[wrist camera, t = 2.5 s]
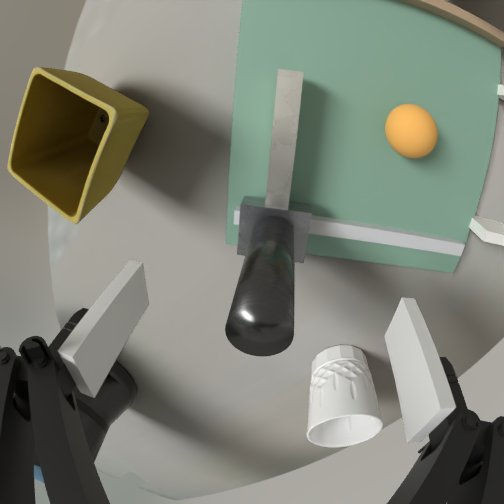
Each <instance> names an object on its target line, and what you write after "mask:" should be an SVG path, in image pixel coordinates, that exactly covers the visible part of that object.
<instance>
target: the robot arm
mask: <svg viewBox="0 0 504 504" xmlns="http://www.w3.org/2000/svg"><path fill="white" fill-rule="evenodd" d="M148 306H149V300H148V294H147V288H146V281H145V274H144V267H143V262H137V261H131V260H130V261H129V262H128V263H127V264H126V266H125V267H124V268H123V269H122V270H121V271H120V273H119V274H118V275H117V276H116V277H115V278H114V280H113V281H112V282H111V283H110V284H109V286H108V287H107V288H106V289H105V290H104V292H103V293H102V294H101V295H100V297H99V298H98V299H97V300H96V301H95V303H94V304H93V305H92V306H91V308H90V309H85V308H82V309H81V310H79V311H78V312H76V313H75V314H74V315H73V316H72V317H71V319H70V320H69V321H68V323H67V324H66V325H65V326H64V329H62V330H61V331H60V333H59V334H58V335H57V336H56V338H55V339H54V340H53V342H52V343H51V344H50V346H49V347H48V346H47V344H46V342H45V340H44V339H43V338H42V337H39V336H32V337H30V338H27V339H26V340H25V341H23V342H22V344H21V345H20V348H19V352H20V354H21V356H17V355H16V353H15V352H14V350H13V349H12V348H9V347H4V348H2V347H1V346H0V504H35V489H34V478H35V479H37V480H39V481H41V482H43V483H45V487H46V490H47V494H48V497H49V500H50V504H110V503H109V500H108V498H107V496H106V493H105V491H104V488H103V486H102V483H101V481H100V478H99V476H98V473H97V470H96V467H95V465H94V462H95V459H96V457H97V454H98V452H99V450H100V447H101V445H102V443H103V440H104V438H105V436H106V433H107V431H108V429H109V427H110V425H111V424H112V423H113V422H114V421H115V420H116V419H117V418H118V417H119V416H120V415H121V414H122V413H123V412H124V411H125V410H126V409H127V408H128V407H129V406H130V405H131V404H132V402H133V400H134V398H135V396H136V393H137V388H136V384H135V382H134V381H133V379H132V377H131V376H130V375H129V374H128V372H127V371H126V370H125V369H124V368H123V367H122V366H121V365H120V364H118V363H117V362H116V359H117V357H118V355H119V354H120V352H121V350H122V349H123V347H124V345H125V343H126V342H127V340H128V338H129V337H130V335H131V333H132V332H133V330H134V328H135V327H136V325H137V323H138V322H139V320H140V318H141V317H142V315H143V314H144V312H145V310H146V309H147V307H148ZM384 338H385V341H386V345H387V349H388V353H389V357H390V361H391V365H392V370H393V374H394V378H395V383H396V388H397V392H398V397H399V402H400V407H401V412H402V418H403V423H404V429H405V435H406V441H407V443H411V442H420V441H422V440H424V439H425V438H426V437H427V436H428V435H429V439H430V441H429V442H428V443H427V444H426V445H425V446H424V447H422V449H420V450H419V451H418V453H421V452H422V453H421V455H420V456H419V458H418V460H417V462H416V463H415V464H414V466H413V468H412V469H411V471H410V472H409V474H408V475H407V477H406V478H405V480H404V481H403V483H402V484H401V485H400V487H399V488H398V490H397V491H396V492H395V494H394V495H393V496H392V498H391V499H390V500H389V502H388V503H387V504H446V503H447V504H504V417H502V416H500V417H498V418H497V419H496V420H495V421H494V422H492V423H491V422H486V421H481V420H480V419H479V417H478V416H477V414H476V413H474V412H473V411H471V410H468V409H467V406H466V403H465V400H464V397H463V394H462V391H461V388H460V385H459V383H458V380H457V377H456V376H455V372H454V369H453V366H452V365H451V363H450V362H449V361H448V360H447V358H446V357H439V355H438V353H437V350H436V348H435V345H434V343H433V340H432V338H431V335H430V333H429V330H428V328H427V326H426V323H425V321H424V319H423V316H422V314H421V312H420V309H419V307H418V305H417V303H416V301H415V299H414V298H404V297H402V298H401V301H400V303H399V305H398V308H397V310H396V312H395V314H394V317H393V319H392V321H391V323H390V325H389V327H388V330H387V332H386V334H385V336H384Z"/></svg>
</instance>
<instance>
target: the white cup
mask: <svg viewBox="0 0 504 504" xmlns="http://www.w3.org/2000/svg"><path fill="white" fill-rule="evenodd" d="M382 427H383V422H382V418H381V413H380V409H379V404H378V400H377V395H376V391H375V387H374V384H373V380H372V376H371V373H370V370H369V367H368V363H367V359H366V356H365V355H364V353H363V352H362V350H361V349H358V348H356V347H354V346H351V345H338V346H334V347H330V348H327V349H325V350H324V351H322V352H320V353H319V354H317V356H316V357H315V359H314V360H313V362H312V378H311V383H310V396H309V408H308V425H307V438H308V440H309V441H311V442H312V443H314V444H316V445H319V446H324V447H346V446H351V445H356V444H359V443H362V442H365V441H367V440H369V439H371V438H373V437H374V436H376V435H377V434H378V433H379V432H380V431H381V429H382Z"/></svg>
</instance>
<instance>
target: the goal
mask: <svg viewBox="0 0 504 504" xmlns="http://www.w3.org/2000/svg"><path fill="white" fill-rule="evenodd" d="M497 95H499V99H501V100H503V101H504V85H498V91H497ZM469 228H470V229H471V230H472V231H473V232H474V233H475V234H476V235H477V236H478V237H479V238H480V239H481V240H483V241H485V242H489V243H494V244H498V245H502V246H504V223H501V222H498V221H494V220H491V219H487V218H484V217H480V216H476V215H475V216H474V218H472V219H471V222H470V225H469Z"/></svg>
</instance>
